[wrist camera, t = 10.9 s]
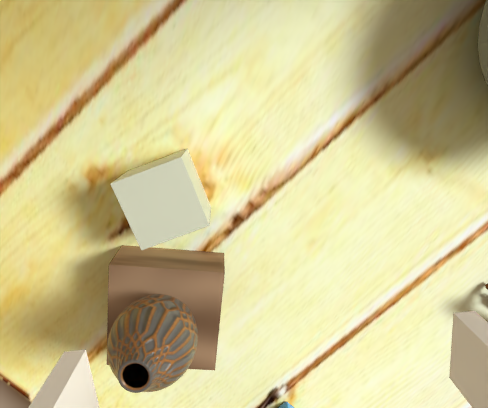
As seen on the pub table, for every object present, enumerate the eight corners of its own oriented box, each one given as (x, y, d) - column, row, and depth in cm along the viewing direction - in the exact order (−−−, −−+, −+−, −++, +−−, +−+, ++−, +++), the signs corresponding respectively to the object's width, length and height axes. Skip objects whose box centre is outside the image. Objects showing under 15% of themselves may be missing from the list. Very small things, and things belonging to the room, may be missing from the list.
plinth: (122, 244, 39) (108, 264, 34) (223, 251, 40) (224, 272, 35) (119, 333, 41) (106, 364, 36) (215, 339, 42) (214, 370, 37)
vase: (152, 370, 36) (120, 440, 27) (111, 308, 35) (64, 359, 26) (217, 334, 35) (205, 394, 26) (176, 270, 35) (150, 309, 26)
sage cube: (127, 171, 37) (110, 183, 31) (187, 148, 37) (181, 157, 31) (153, 227, 38) (141, 250, 32) (211, 206, 38) (209, 225, 32)
